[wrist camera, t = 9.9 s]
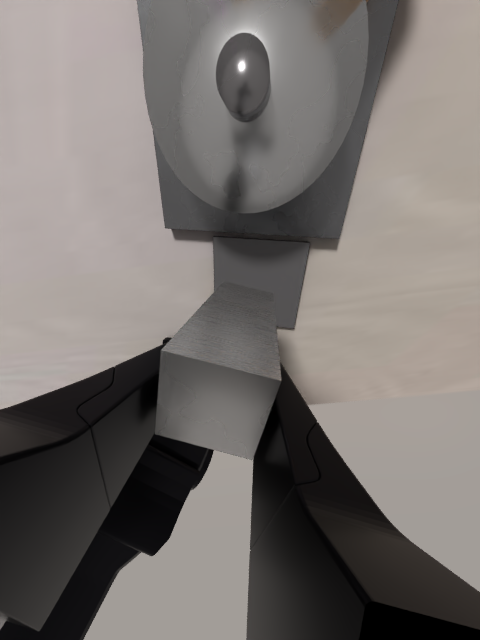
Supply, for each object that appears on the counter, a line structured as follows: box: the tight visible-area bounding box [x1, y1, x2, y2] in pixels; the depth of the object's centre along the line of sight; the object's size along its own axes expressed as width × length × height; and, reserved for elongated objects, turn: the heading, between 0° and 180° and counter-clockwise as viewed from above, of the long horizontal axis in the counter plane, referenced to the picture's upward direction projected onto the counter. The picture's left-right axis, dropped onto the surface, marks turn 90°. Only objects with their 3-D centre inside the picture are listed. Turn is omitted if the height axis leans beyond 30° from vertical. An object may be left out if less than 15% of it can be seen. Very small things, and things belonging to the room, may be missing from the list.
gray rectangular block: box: [155, 282, 281, 460], centre depth 9 cm, size 3×3×8 cm
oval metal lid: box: [143, 0, 369, 213], centre depth 10 cm, size 16×11×4 cm
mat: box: [213, 236, 310, 328], centre depth 19 cm, size 8×8×1 cm
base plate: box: [137, 0, 399, 239], centre depth 14 cm, size 14×14×1 cm
